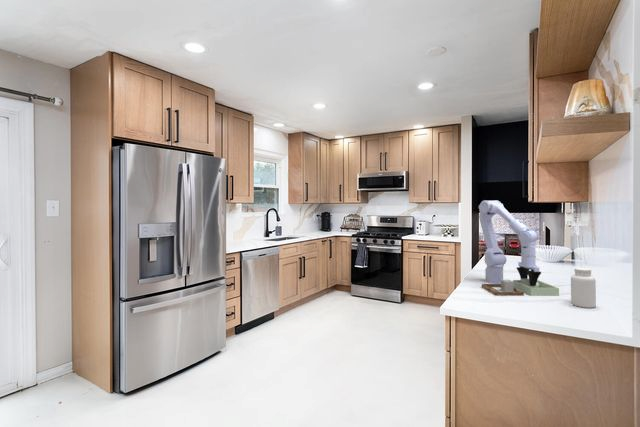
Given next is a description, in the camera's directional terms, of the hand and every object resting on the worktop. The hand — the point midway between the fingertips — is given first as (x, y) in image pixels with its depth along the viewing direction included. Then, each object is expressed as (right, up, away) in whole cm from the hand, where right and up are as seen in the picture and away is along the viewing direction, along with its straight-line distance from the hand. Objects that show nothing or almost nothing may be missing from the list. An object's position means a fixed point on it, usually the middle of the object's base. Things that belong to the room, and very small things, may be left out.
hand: (528, 283), depth 157 cm
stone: (-11, -3, -2) cm, 12 cm away
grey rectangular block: (-1, -3, 0) cm, 3 cm away
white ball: (+5, -3, +3) cm, 6 cm away
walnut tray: (-14, -4, -1) cm, 14 cm away
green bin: (+1, -3, -3) cm, 4 cm away
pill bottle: (+8, -4, -23) cm, 25 cm away
